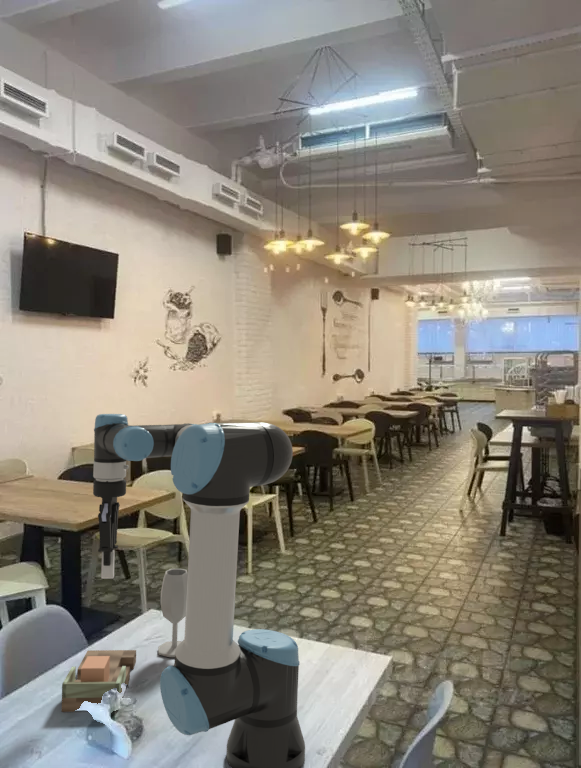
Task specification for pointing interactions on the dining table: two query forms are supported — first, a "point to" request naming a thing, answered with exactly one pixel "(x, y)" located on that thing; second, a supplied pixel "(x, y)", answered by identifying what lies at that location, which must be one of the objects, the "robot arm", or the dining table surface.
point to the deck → (93, 691)
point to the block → (95, 669)
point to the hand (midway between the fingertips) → (107, 577)
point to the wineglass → (173, 605)
